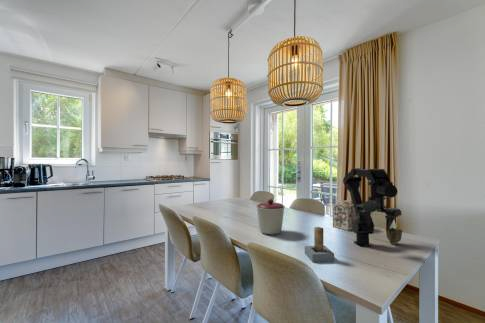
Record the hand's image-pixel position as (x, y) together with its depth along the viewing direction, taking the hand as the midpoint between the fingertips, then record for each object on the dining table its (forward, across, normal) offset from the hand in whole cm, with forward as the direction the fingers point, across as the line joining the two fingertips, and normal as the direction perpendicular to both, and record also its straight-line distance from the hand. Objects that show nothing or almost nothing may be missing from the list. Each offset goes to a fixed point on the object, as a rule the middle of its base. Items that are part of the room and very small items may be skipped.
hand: (377, 227), depth 110 cm
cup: (+13, -5, +21) cm, 25 cm away
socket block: (+13, -12, -27) cm, 32 cm away
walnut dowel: (+12, -12, -27) cm, 32 cm away
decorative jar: (+12, -38, +25) cm, 47 cm away
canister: (+12, -53, -25) cm, 60 cm away
